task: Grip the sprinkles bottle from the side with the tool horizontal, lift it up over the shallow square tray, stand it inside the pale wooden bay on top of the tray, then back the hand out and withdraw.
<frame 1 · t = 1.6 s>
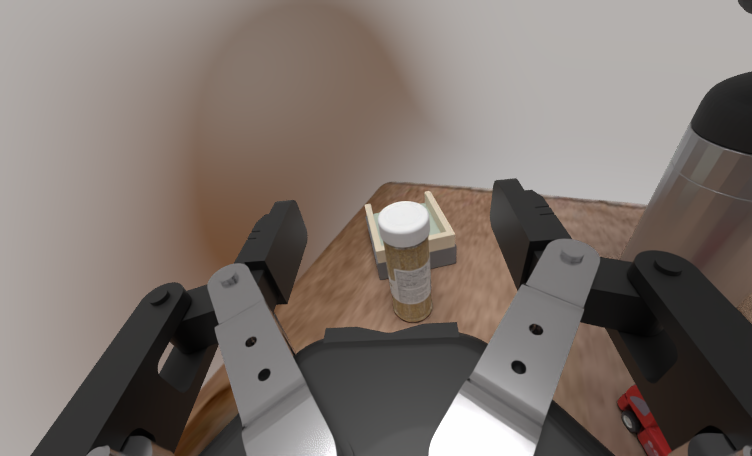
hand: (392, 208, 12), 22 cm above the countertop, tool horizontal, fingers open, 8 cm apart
sprinkles bottle: (413, 307, 35), on the countertop
shallow square tray: (408, 246, 43), on the countertop
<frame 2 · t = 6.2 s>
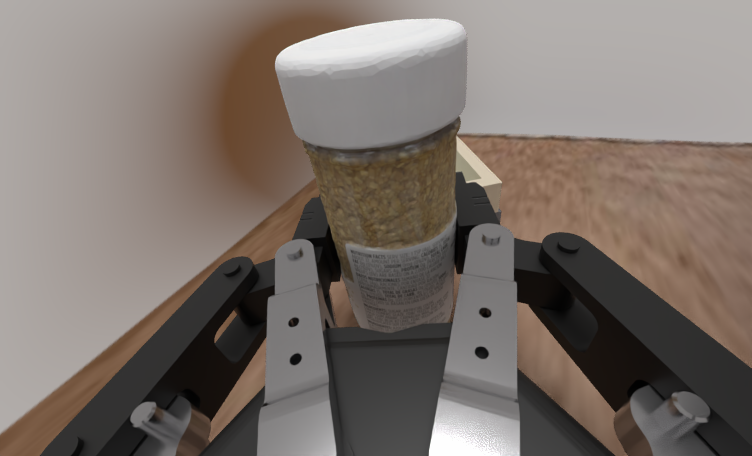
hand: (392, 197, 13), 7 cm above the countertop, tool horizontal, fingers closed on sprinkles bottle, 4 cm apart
sprinkles bottle: (408, 343, 16), on the countertop, touching gripper
shallow square tray: (403, 219, 23), on the countertop
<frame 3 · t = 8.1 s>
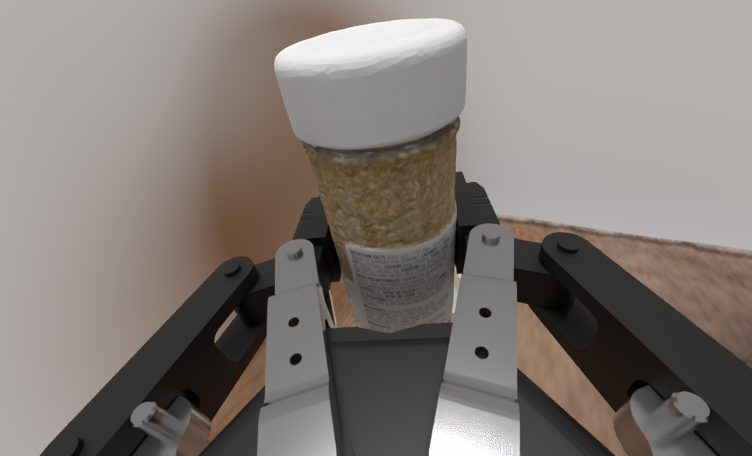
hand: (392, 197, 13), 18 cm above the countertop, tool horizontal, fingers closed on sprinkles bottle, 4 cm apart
sprinkles bottle: (408, 344, 15), point 10 cm above the countertop, touching gripper
when the fingers open (11 cm above the countertop, at t = 10.3 s): sprinkles bottle drops 1 cm, resting on shallow square tray.
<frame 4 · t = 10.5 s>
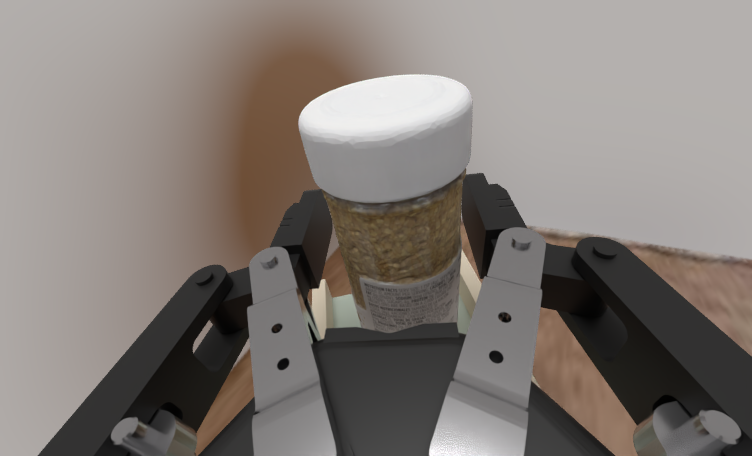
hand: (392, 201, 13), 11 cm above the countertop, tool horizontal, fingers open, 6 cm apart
sprinkles bottle: (414, 359, 16), point 3 cm above the countertop, touching shallow square tray
shallow square tray: (412, 381, 18), on the countertop
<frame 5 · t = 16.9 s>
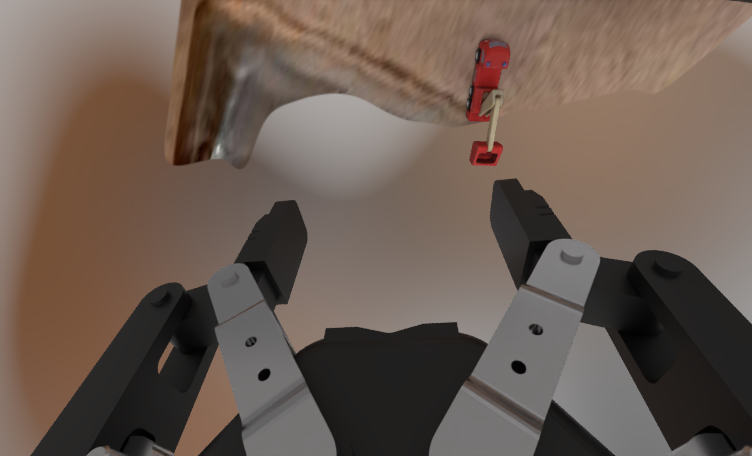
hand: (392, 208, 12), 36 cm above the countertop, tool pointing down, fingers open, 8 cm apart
toy fire truck: (479, 92, 44), on the countertop
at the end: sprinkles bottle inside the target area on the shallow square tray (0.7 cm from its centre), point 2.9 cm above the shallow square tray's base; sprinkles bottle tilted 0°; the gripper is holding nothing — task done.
